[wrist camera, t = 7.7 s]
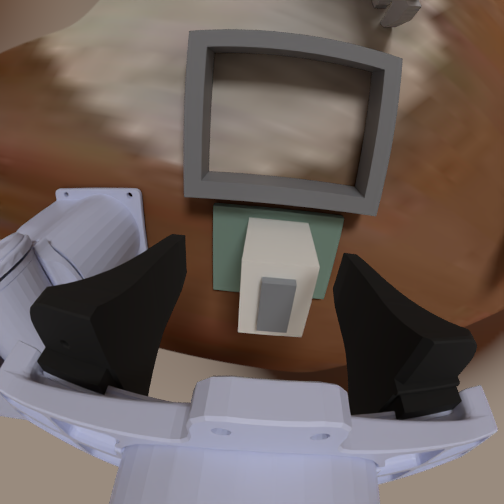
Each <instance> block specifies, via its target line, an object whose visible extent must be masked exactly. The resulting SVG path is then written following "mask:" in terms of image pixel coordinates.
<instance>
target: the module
mask: <svg viewBox="0 0 504 504" xmlns="http://www.w3.org/2000/svg"><path fill="white" fill-rule="evenodd" d="M319 269H320V266H319V262H318V258H317V254H316V250H315V246H314V242H313V238H312V235H311V231H310V227H309V223H304V222H294V221H284V220H274V219H263V218H252V217H249V222H248V228H247V233H246V239H245V245H244V251H243V257H242V266H241V284H240V302H239V320H238V332H241V333H252V334H263V335H276V336H291V337H302V334H303V330H304V327H305V323H306V319H307V316H308V312H309V308H310V305H311V301H312V297H313V293H314V289H315V285H316V281H317V277H318V273H319Z"/></svg>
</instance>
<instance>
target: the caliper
mask: <svg viewBox="0 0 504 504" xmlns="http://www.w3.org/2000/svg"><path fill="white" fill-rule="evenodd" d="M391 1H392V4H391V6H390V7H389V9H388V11H387V12H386V14H385V16H384V17H383V19H382V20H381V22H380V23H381V25H382V26H383V27H396V26H399V25H401V24H403V23H405V22H408V21H410V20H411V19H412V18H413V17H414V16H415V14H416V13H417V12H418V10H419V9H420V8H421V7H422V6H421V4H420V2H419V0H372V3H373V6H374V8H386V7H387V5H389V4H390V2H391Z"/></svg>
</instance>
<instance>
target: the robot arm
mask: <svg viewBox="0 0 504 504" xmlns="http://www.w3.org/2000/svg"><path fill="white" fill-rule="evenodd" d="M129 192H130V193H131V194H132V197H131V196H129ZM67 193H68V195H67ZM56 199H57V201H56V202H54V203H53V204H51V205H50V206H48V207H47V208H45V209H44V210H43V211H41V212H40V213H38V214H37V215H36V216H34V217H33V218H32V219H30V220H29V221H28V222H26V223H25V224H24V225H22V226H21V227H20V228H19V229H18V230H17V232H16V233H13V234H11V235H9V236H7V237H6V238H4V239H2V240H1V241H0V416H4V417H10V418H16V419H23V420H28V421H30V422H31V423H33V424H35V425H36V426H38V427H40V428H41V429H43V430H45V431H47V432H48V433H50V434H52V435H54V436H55V437H57V438H59V439H61V440H62V441H64V442H66V443H68V444H70V445H72V446H74V447H76V448H78V449H80V450H82V451H84V452H86V453H88V454H90V455H92V456H94V457H96V458H99V459H101V460H103V461H105V462H108V463H110V464H113V465H115V466H118V467H119V468H118V472H117V476H116V479H115V483H114V487H113V490H112V494H111V498H110V502H109V504H380V497H379V487H378V484H382V483H386V482H390V481H394V480H397V479H400V478H403V477H407V476H410V475H413V474H416V473H419V472H422V471H425V470H428V469H431V468H433V467H436V466H439V465H442V464H444V463H447V462H449V461H452V460H454V459H457V458H460V457H462V456H463V455H465V454H466V453H468V452H469V451H471V450H472V449H474V448H475V447H477V446H478V445H480V444H481V443H482V442H484V441H485V440H486V439H488V438H489V437H491V435H493V434H494V433H496V432H497V430H498V428H497V426H496V423H495V420H494V417H493V414H492V411H491V409H490V406H489V404H488V401H487V399H486V396H485V393H484V391H483V389H482V386H481V385H478V386H475V387H471V388H466V389H464V390H462V391H460V392H458V390H457V387H456V386H458V385H459V384H460V381H459V379H458V375H459V374H460V373H461V372H462V371H463V369H464V368H465V367H466V366H467V365H468V363H469V362H470V361H471V359H472V358H473V356H474V354H475V352H476V348H477V344H476V342H475V340H474V338H473V336H472V334H471V333H470V331H469V330H468V329H466V328H463V327H460V326H458V325H455V324H453V323H450V322H448V321H446V320H444V319H442V318H440V317H438V316H436V315H434V314H432V313H430V312H429V311H427V310H425V309H424V308H422V307H420V306H419V305H417V304H416V303H414V302H413V301H411V300H410V299H408V298H407V297H406V296H404V295H403V294H402V293H400V292H399V291H398V290H396V289H395V288H394V287H393V286H392V285H390V284H389V283H388V282H387V281H386V280H385V279H384V278H382V277H381V276H380V275H379V274H378V273H377V272H376V271H375V270H374V269H373V268H372V267H370V266H369V265H368V264H367V263H366V262H365V261H364V260H363V259H361V258H360V257H359V256H358V255H356V254H348V253H344V254H343V258H342V261H341V264H340V268H339V271H338V274H337V277H336V281H335V284H334V287H333V294H334V303H335V309H336V313H337V317H338V321H339V325H340V329H341V333H342V337H343V341H344V346H345V351H346V360H347V371H348V393H349V394H348V395H347V392H346V391H345V390H343V389H342V388H341V387H340V386H338V385H336V384H330V383H325V382H312V381H311V382H310V381H287V380H272V379H260V378H249V377H238V376H212V377H210V378H207V379H204V380H202V381H199V382H197V384H196V386H195V388H194V391H193V395H192V400H191V403H181V402H178V403H177V402H170V401H165V400H161V399H156V398H152V397H148V393H149V387H150V383H151V378H152V373H153V369H154V364H155V360H156V356H157V352H158V349H159V345H160V342H161V338H162V335H163V332H164V329H165V327H166V324H167V322H168V320H169V318H170V315H171V313H172V311H173V309H174V306H175V304H176V302H177V300H178V297H179V295H180V293H181V290H182V287H183V284H184V280H185V277H186V273H187V270H186V247H185V235H176V234H172V235H170V236H168V237H166V238H165V239H163V240H162V241H160V242H158V243H157V244H155V245H154V246H152V247H151V248H149V249H148V246H147V238H146V230H145V221H144V212H143V201H142V193H141V191H140V190H139V189H137V188H60V189H58V190H57V191H56Z"/></svg>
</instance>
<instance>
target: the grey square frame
mask: <svg viewBox="0 0 504 504" xmlns="http://www.w3.org/2000/svg"><path fill="white" fill-rule="evenodd" d="M215 53H256V54H270V55H281V56H290V57H298V58H305V59H312V60H318V61H324V62H330V63H335V64H340V65H345V66H349V67H353V68H358V69H362V70H366V71H370V72H372V76H371V86H370V95H369V103H368V111H367V119H366V126H365V132H364V139H363V145H362V151H361V157H360V162H359V168H358V173H357V178H356V184H355V187H354V186H348V185H341V184H334V183H327V182H320V181H312V180H304V179H295V178H286V177H277V176H266V175H255V174H243V173H229V172H212V171H209V148H210V121H211V100H212V83H213V68H214V54H215ZM401 72H402V58H399V57H396V56H393V55H390V54H387V53H384V52H380V51H377V50H374V49H370V48H366V47H363V46H359V45H355V44H350V43H346V42H342V41H337V40H332V39H327V38H321V37H315V36H309V35H302V34H294V33H286V32H276V31H262V30H236V29H222V30H196V31H189V39H188V51H187V65H186V82H185V105H184V197H195V198H211V199H225V200H238V201H250V202H261V203H272V204H282V205H291V206H301V207H309V208H318V209H326V210H334V211H342V212H350V213H357V214H364V215H371V216H376V214H377V211H378V207H379V203H380V198H381V194H382V190H383V186H384V181H385V177H386V172H387V167H388V162H389V157H390V152H391V147H392V141H393V135H394V129H395V123H396V116H397V109H398V101H399V93H400V83H401Z"/></svg>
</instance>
